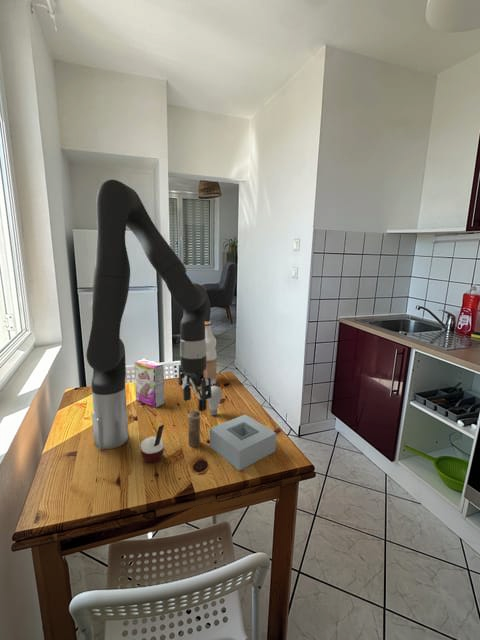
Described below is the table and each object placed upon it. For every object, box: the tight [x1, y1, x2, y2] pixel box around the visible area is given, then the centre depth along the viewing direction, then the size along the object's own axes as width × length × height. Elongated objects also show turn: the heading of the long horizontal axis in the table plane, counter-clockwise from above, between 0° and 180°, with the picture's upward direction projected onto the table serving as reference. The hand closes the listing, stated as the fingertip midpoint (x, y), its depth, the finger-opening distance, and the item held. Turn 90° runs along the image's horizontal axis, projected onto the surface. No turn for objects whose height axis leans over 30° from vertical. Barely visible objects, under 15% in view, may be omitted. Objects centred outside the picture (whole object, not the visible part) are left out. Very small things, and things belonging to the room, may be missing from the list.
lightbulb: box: [206, 385, 223, 416], centre depth 113 cm, size 6×6×11 cm
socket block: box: [209, 413, 277, 471], centre depth 94 cm, size 14×14×6 cm
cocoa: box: [139, 424, 165, 463], centre depth 88 cm, size 10×6×12 cm, turn 26°
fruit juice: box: [203, 320, 218, 386], centre depth 140 cm, size 9×9×28 cm
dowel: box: [187, 410, 201, 448], centre depth 96 cm, size 3×3×10 cm
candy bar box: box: [134, 358, 165, 409], centre depth 121 cm, size 11×5×16 cm, turn 58°
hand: (194, 405), depth 94 cm, fingers open, 8 cm apart
